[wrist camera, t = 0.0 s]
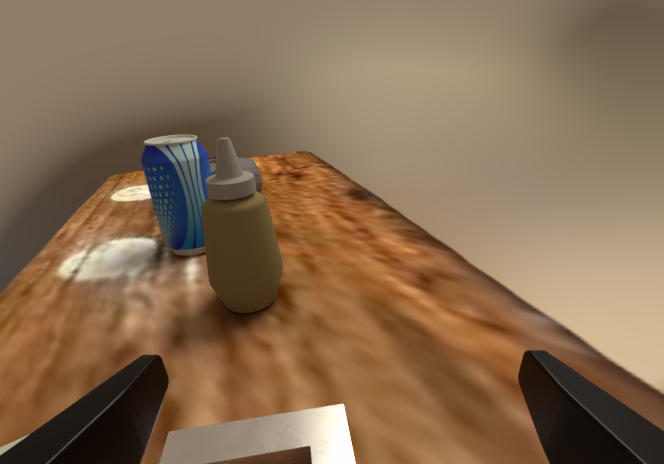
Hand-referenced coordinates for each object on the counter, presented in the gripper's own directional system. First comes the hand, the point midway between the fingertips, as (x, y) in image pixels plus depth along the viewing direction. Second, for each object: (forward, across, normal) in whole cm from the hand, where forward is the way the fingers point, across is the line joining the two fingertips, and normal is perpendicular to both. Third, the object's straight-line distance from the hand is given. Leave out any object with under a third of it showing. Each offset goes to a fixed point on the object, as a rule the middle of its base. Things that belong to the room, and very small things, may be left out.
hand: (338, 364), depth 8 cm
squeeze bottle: (+26, +11, +17) cm, 33 cm away
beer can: (+40, +23, +17) cm, 49 cm away
